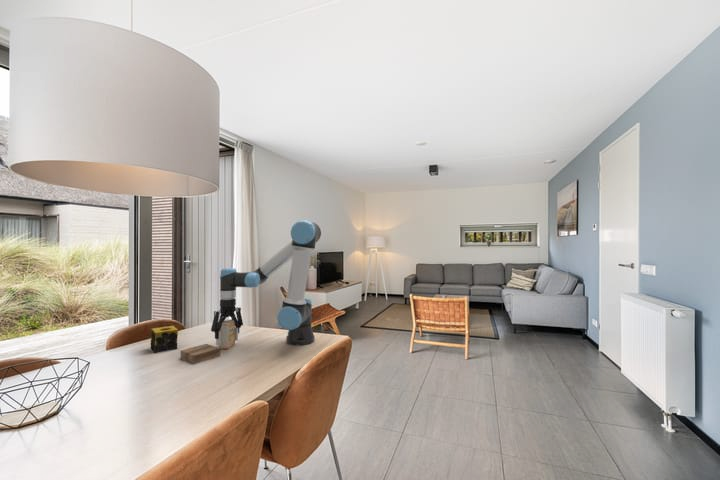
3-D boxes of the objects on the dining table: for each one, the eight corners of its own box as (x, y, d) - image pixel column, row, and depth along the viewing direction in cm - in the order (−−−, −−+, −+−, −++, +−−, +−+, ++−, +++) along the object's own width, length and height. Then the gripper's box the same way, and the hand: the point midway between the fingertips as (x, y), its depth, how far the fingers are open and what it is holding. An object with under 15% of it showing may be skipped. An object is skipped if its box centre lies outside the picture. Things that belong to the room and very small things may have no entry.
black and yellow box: (150, 348, 155) (150, 328, 156) (173, 344, 162) (173, 325, 162) (153, 353, 148) (154, 332, 148) (177, 349, 155) (178, 329, 155)
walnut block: (220, 356, 145) (220, 348, 145) (194, 364, 135) (194, 355, 135) (206, 352, 151) (206, 343, 152) (180, 359, 142) (180, 350, 142)
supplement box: (228, 349, 154) (228, 322, 155) (218, 349, 155) (219, 322, 155) (235, 344, 163) (235, 319, 163) (226, 344, 163) (226, 318, 163)
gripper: (242, 295, 170) (241, 336, 170) (203, 300, 152) (202, 346, 152) (250, 296, 166) (250, 338, 166) (211, 302, 148) (210, 349, 147)
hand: (227, 342), depth 159 cm, fingers closed on supplement box, 9 cm apart
